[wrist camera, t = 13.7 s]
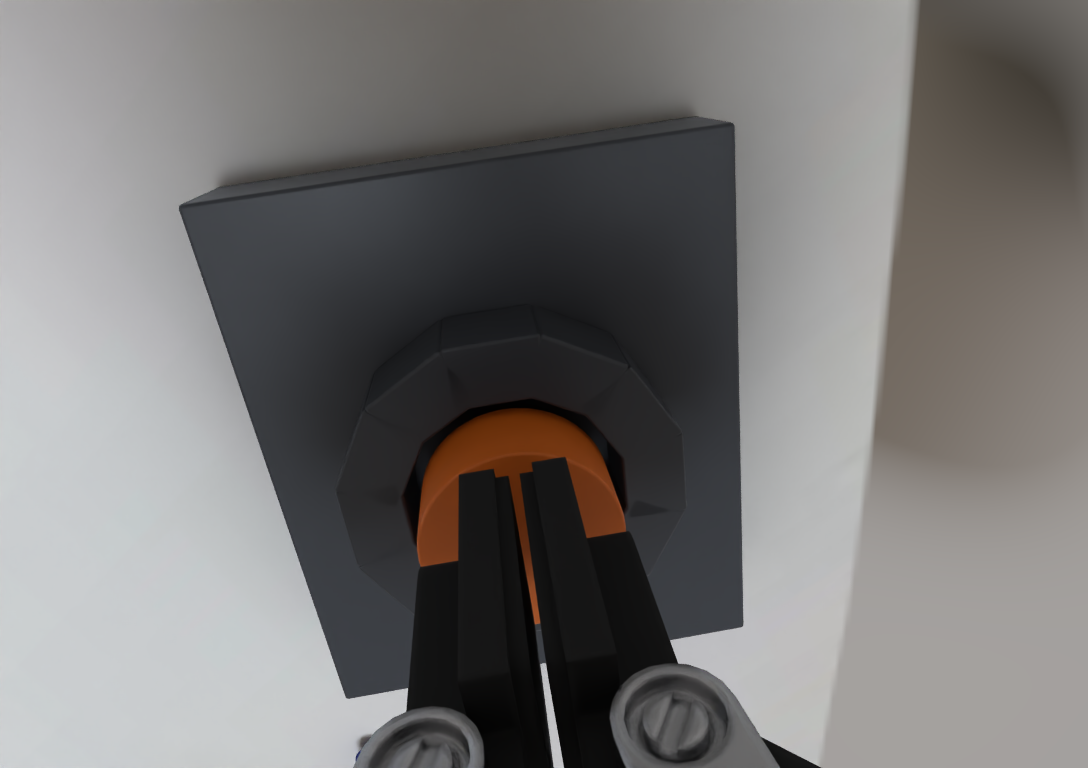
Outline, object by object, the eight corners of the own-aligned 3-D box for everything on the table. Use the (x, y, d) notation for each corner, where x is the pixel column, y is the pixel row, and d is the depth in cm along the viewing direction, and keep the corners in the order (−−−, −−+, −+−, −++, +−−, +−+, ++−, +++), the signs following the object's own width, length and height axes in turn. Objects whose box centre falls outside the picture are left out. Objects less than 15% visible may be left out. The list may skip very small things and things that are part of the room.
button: (403, 424, 13) (395, 473, 11) (598, 392, 13) (616, 435, 11) (441, 579, 14) (438, 643, 13) (615, 549, 14) (634, 608, 13)
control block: (216, 187, 14) (131, 225, 11) (698, 115, 15) (776, 128, 11) (357, 635, 19) (333, 766, 15) (715, 571, 20) (773, 684, 16)
